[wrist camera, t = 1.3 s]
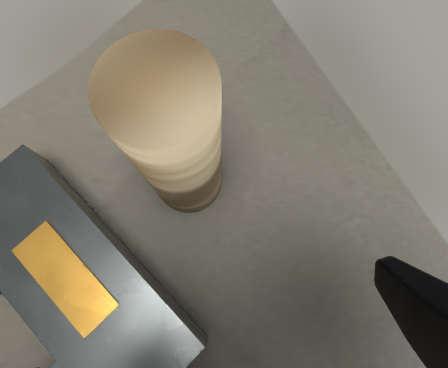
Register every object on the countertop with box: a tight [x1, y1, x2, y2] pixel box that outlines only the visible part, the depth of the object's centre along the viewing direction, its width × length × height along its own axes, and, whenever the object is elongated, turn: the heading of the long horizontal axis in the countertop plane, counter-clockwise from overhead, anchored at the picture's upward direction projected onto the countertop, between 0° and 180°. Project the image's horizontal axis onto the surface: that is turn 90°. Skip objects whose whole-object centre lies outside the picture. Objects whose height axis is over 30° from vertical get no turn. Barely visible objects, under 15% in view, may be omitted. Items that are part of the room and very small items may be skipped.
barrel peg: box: [88, 29, 222, 212], centre depth 17 cm, size 4×4×12 cm
